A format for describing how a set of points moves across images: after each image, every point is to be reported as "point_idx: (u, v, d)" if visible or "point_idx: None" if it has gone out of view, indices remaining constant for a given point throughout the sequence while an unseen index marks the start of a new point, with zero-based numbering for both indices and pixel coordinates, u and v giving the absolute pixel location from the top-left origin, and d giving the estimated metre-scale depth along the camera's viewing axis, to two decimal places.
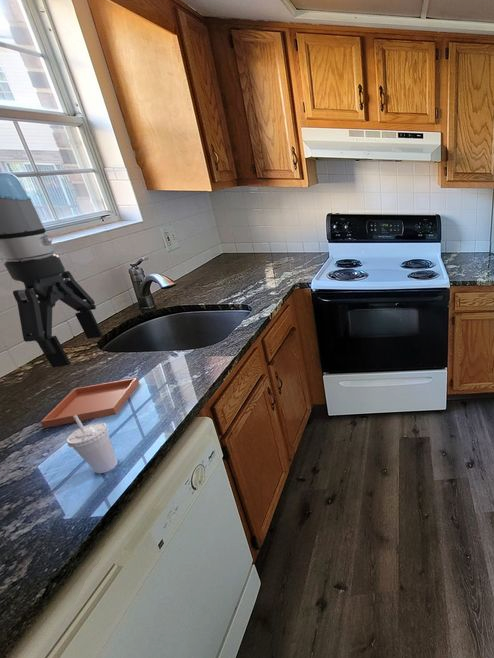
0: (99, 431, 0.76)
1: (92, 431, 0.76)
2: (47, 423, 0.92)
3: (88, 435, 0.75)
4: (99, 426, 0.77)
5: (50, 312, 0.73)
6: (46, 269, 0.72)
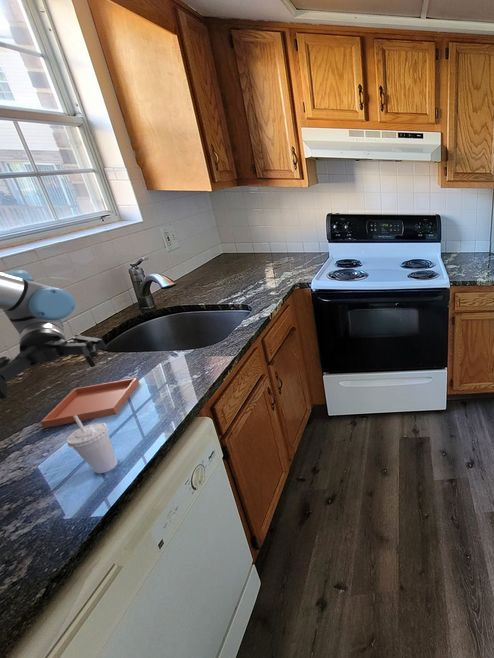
0: (99, 431, 0.76)
1: (92, 431, 0.76)
2: (47, 423, 0.92)
3: (88, 435, 0.75)
4: (99, 426, 0.77)
5: None
6: None
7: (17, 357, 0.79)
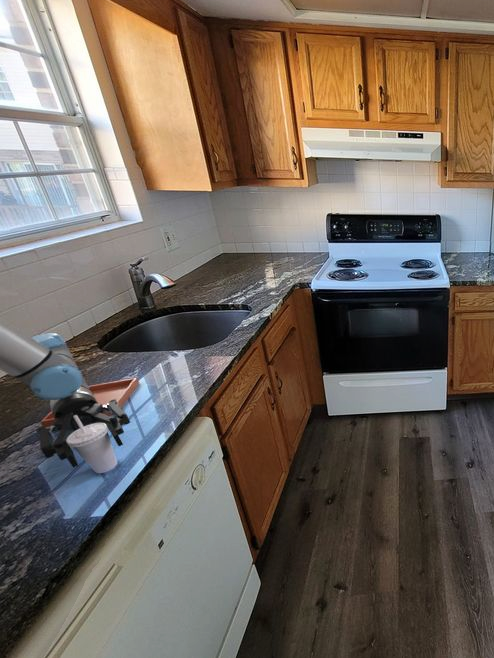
0: (99, 431, 0.76)
1: (92, 431, 0.76)
2: (47, 423, 0.92)
3: (88, 435, 0.75)
4: (99, 426, 0.77)
5: None
6: None
7: (64, 424, 0.79)
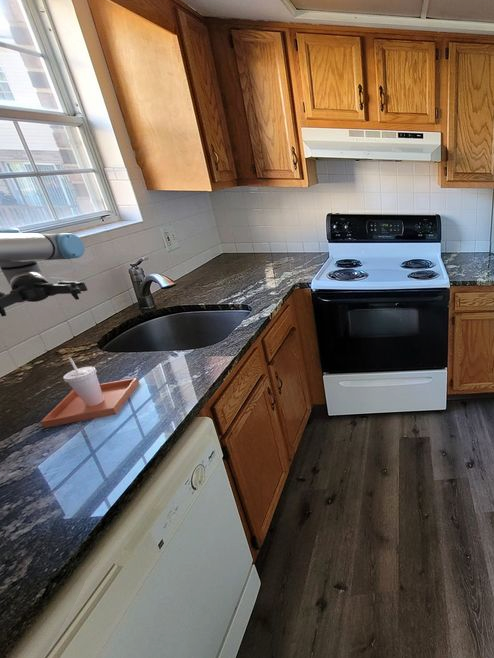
0: (89, 371, 0.97)
1: (83, 371, 0.96)
2: (47, 423, 0.92)
3: (80, 374, 0.96)
4: (89, 368, 0.98)
5: None
6: None
7: (12, 291, 0.98)
